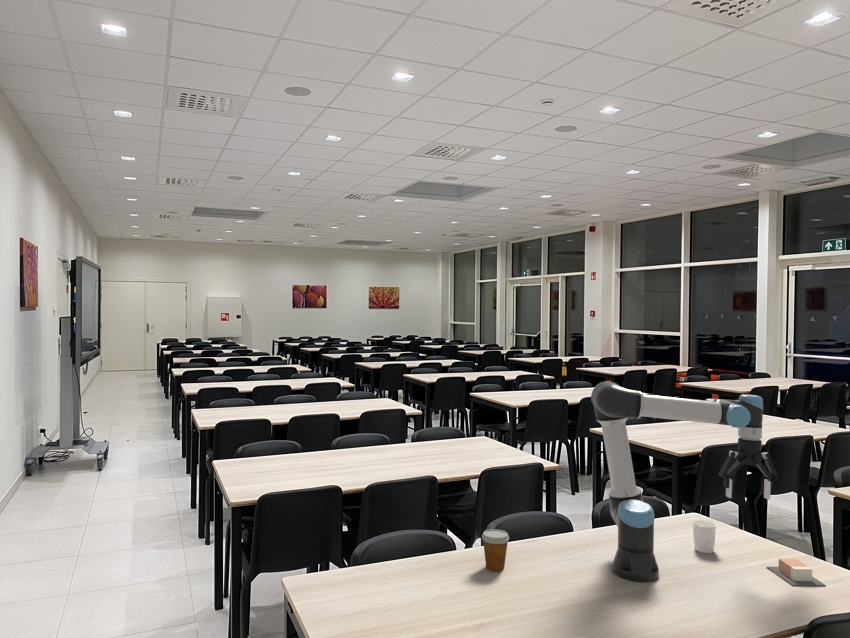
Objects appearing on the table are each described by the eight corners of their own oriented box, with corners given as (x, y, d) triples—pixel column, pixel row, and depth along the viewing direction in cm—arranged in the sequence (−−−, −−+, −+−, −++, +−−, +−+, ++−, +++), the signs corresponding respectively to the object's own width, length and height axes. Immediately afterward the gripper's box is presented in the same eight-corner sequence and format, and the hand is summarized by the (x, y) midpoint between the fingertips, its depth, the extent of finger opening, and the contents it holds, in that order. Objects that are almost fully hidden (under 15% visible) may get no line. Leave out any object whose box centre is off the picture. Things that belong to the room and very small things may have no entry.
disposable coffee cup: (508, 563, 217) (508, 529, 217) (509, 574, 208) (509, 538, 208) (481, 561, 218) (481, 528, 218) (481, 572, 208) (481, 537, 209)
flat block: (778, 570, 213) (778, 558, 213) (795, 570, 213) (795, 558, 213) (794, 581, 204) (794, 569, 204) (812, 581, 204) (812, 569, 204)
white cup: (719, 554, 228) (719, 527, 228) (698, 553, 228) (698, 527, 228) (709, 546, 236) (710, 520, 236) (689, 546, 236) (689, 520, 236)
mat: (792, 585, 201) (792, 584, 201) (766, 567, 216) (766, 566, 216) (825, 586, 201) (825, 585, 201) (797, 568, 216) (797, 566, 216)
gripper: (719, 439, 214) (717, 499, 214) (791, 441, 214) (789, 502, 214) (710, 435, 222) (707, 493, 222) (779, 437, 221) (776, 496, 221)
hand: (747, 497), depth 218 cm, fingers open, 13 cm apart
